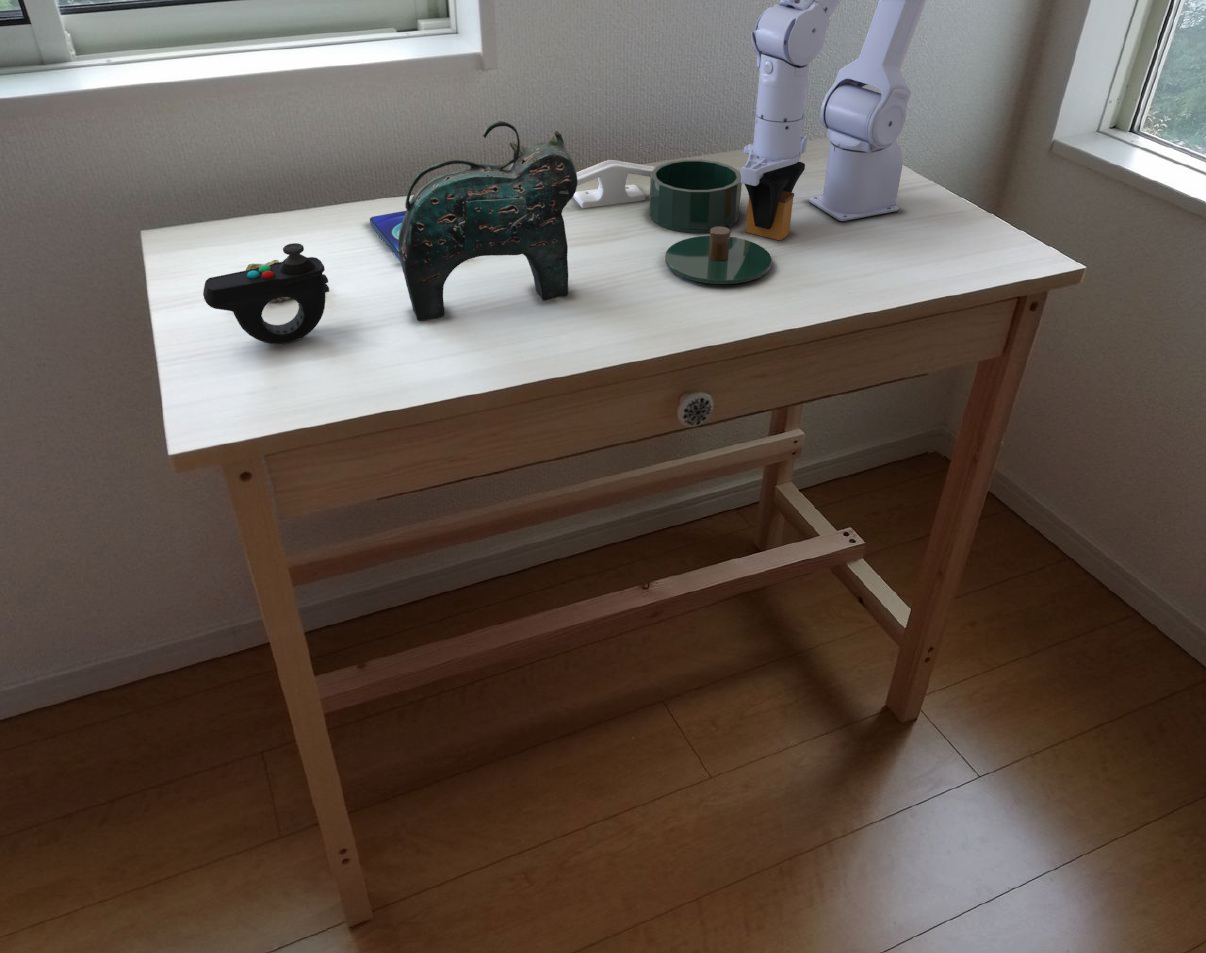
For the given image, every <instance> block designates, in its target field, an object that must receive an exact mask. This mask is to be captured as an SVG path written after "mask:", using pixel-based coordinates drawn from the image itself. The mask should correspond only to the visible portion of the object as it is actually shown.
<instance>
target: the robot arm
mask: <svg viewBox="0 0 1206 953" xmlns="http://www.w3.org/2000/svg"><path fill="white" fill-rule="evenodd" d="M841 2H842V0H780V1H779V2H778V3H775V4H772V6H769V7H768V8H766V9H765V10H764V11H763V12H762V13H761V14H760V16H758V19H757V21H756V23H755V27H754V30H752V31H751V32H750V33H751V36H750V39H751V45H752V48H753V50H754V52H755V53H756V68H757V70H758V71H759V73H758V84H757V96H756V107H755V117H754V118H755V120H754V129H753V130H754V131H753V141H752V143H748V144H747V145H745V146H744V147H743V154H745V155H748V158H747V161H746V163H745V165H743V166H742V167H741V183H742V184H743V185H744V186H745V189H746V190H747V193H748V194H749V195H748V194H747V195H748V198H749V197H750V200H751V205H752V211H753V218H754V224H755V226H756V227H760V228H765V229H770V228H771V227H772V225H773V222H774V219H775V215H776V210H777V206H778V202H779V199H780V196H781V194H782V191H787V192H791V193H793V190H794V188H795V186H796V184H797V182H798V181H799V179H800V177H801V176H802V174H803V173H804V172H805V170H806V163H804V162H802V161H800V160H801V158H802V155H803V154H804V153H805V152H806V150H807V142H808V136H805V135H802V133H803V125H804V117H805V107H806V100H807V99H806V98H807V90H808V81H809V74H810V67H811V66H810V64H811V63H812V62H813V61H814V60H815V59H816V57H817V56H818V55H819V54H820V53H821V52H822V50H823V47H824V45H825V40H826V34H827V31H828V29H829V27H830V24H831V19H830V18H831V16H832V15H833V14H834V12H835V11H836V9H837V7H838V6H839V4H840V3H841ZM926 2H927V0H879V1H878V4H877V6H876V9H875V12H874V14H873V17H872V20H871V23H870V25H869V28H868V32H867V34H866V36H865V39H864V42H863V45H862V48H861V52H860V53H859V56H858V57H857V58H856V59H855V60H853V61H852V62H849V63H847V64H846V65H845V66H843V67H841V68H840V69H838V72H837V74H836V78H835V80H834V81H833V84H832V85H831V87H830V88H829V89H828V90H827V93H826V94H825V96H824V98H823V100H822V103H821V107H820V121H821V124H822V126H823V127H824V128H825V129H826V138H827V139H829V140H830V141H829V148H828V154H827V162H826V169H825V170H826V171H825V177H824V185H823V192H822V195H816V196H810V197H809V198H808V202H809V203H811V204H812V205H813V206H816V208H819V209H820V210H821V211H823V212H824V213H826V214H828V215H829V216H831V217H833V218H834V219H836V220H837V221H839V222H846V221H852V220H857V219H861V218H867V217H872V216H873V217H874V216H877V215H884V214H889V213H895V212H898V211H899V209H900V208H899V206H898V205H896V203H897V198H898V192H899V188H900V181H901V176H902V171H903V164H904V157H903V151H902V148H901V146H900V144H899V143H898V141H897V139H898V137H899V136H900V135H901V133H902V131H903V128H904V126H905V123H906V114H907V108H908V103H909V100H910V97H911V95H912V91H911V88H910V86H909V84H908V83H907V81H906V79H905V77H904V76H903V73H902V72H901V69H902V66H903V63H904V61H905V58H906V56H907V53H908V50H909V47H910V44H911V42H912V39H913V37H914V34H915V32H916V29H917V26H918V24H919V21H920V18H921V16H922V12H923V10H924V8H925V5H926ZM866 86H871V87H874V88H876V89H878V90H879V91H875V90H872V89H868V88H865V87H866Z"/></svg>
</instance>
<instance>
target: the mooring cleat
mask: <svg viewBox="0 0 1206 953" xmlns="http://www.w3.org/2000/svg"><path fill="white" fill-rule="evenodd" d="M656 167H657V166H651V165H645V164H640V163H635V162H634V163H633V162H629V161H622V160H616V159H608V160H604V161H602V162H599V163H597V164H595V165H591V166H589V167H587V168H584V169H582V170H579V171H576V173H577V187H578V186H580V185H583V184H586V183H588V182H590V181H593V180H595V179H597V182H598V187H597V188H595V189H588V190H587V189H586V190H580V191H579V190H578V191H576V192H575V194H574V196H573V197H572V198H573V199H574V200H575V202H576V203H577V204H578V205H579V206H580V207H581V208H582V209H588V208H597V207H603V206H612V205H619V204H620V205H621V204H625V203H626V204H627V203H634V202H642V201H645V200H646V193H644V192H643V190H641V189H640V188H639V187H638V186H637V185H636V184H626V182H627V178H628V175H629V174H631V175H636V176H643V177H648V178H651V172H652V171H653V170H654V169H655V168H656Z"/></svg>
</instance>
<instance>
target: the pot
mask: <svg viewBox="0 0 1206 953" xmlns="http://www.w3.org/2000/svg"><path fill="white" fill-rule="evenodd" d="M655 167H656V168H655V169H654V170H653V171H652V172H651V177H649V178H650V181H649V182H650V184H649V217H650V219H651V221H653V222H654V223H655V224H656V225H658V226H660V227H662V228H665V229H667V230H670V231H675V232H681V233H687V234H688V233H690V234H705V233H707V234H708V233H710V229H711V228H713V227H726V228H728V229H729V228H731V227H732V226H733V225H735V224H736V223H737V222H738V219H739V215H740V211H741V210H740V209H741V198H742V187H743V186H742V185H743V183H741V176H742V172H741V171H740V170H738V169H737V168H735V167H733V166H732V165H729V164H726V163H723V162H720V161H715V160H707V159H680V160H673V161H672V160H671V161H668V162H665V163H662V164H659V165H657V166H655Z"/></svg>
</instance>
